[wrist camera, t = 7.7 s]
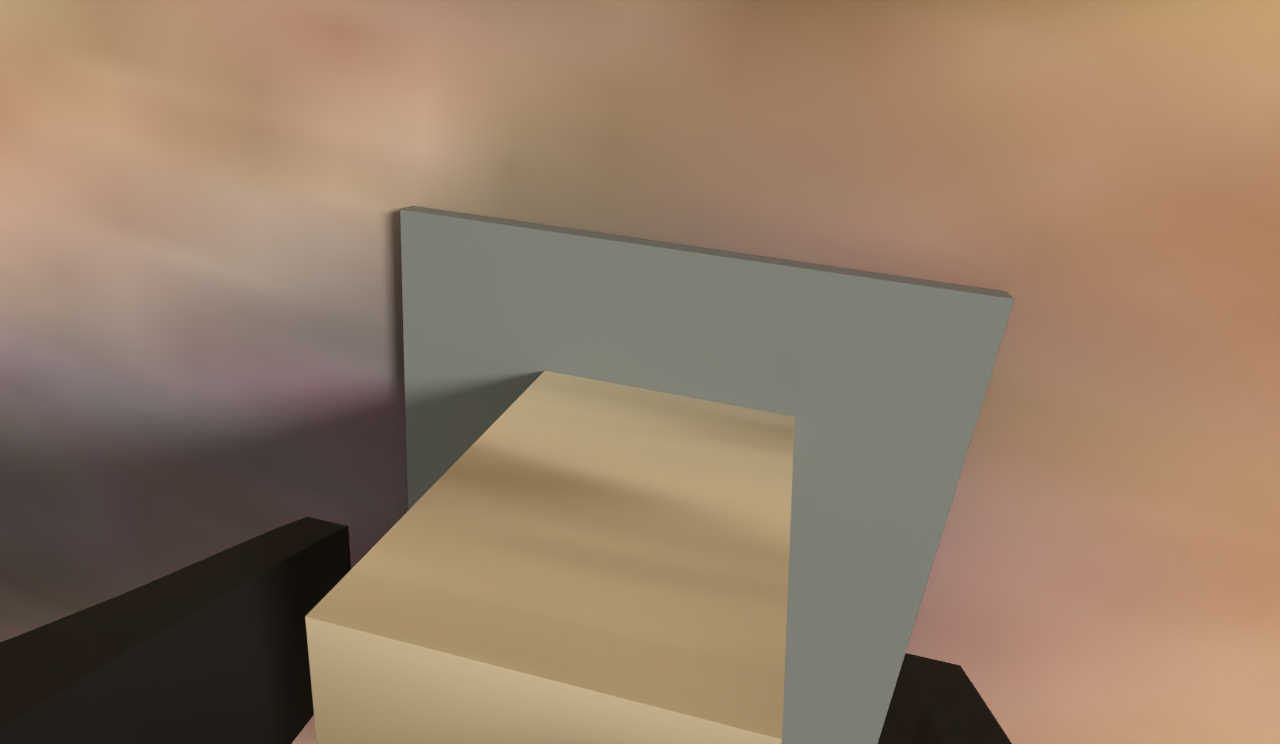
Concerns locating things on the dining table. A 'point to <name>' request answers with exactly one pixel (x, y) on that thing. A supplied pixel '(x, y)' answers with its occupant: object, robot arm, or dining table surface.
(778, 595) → the birch block
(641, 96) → the dining table surface
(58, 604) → the dining table surface
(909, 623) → the rubber mat
